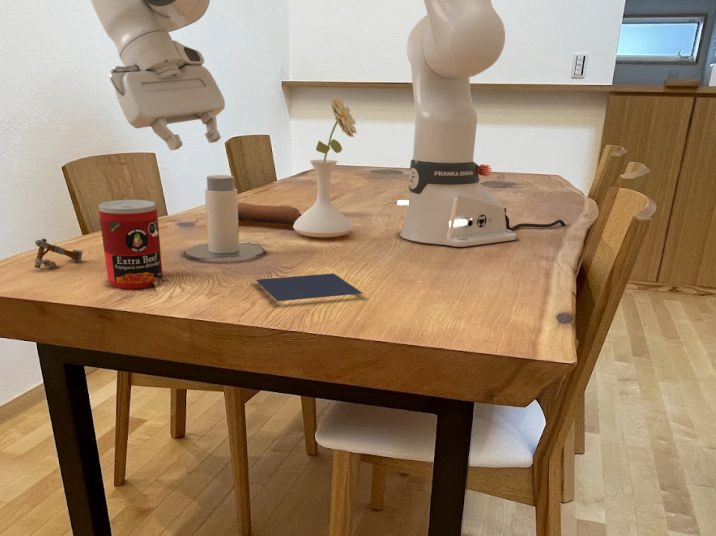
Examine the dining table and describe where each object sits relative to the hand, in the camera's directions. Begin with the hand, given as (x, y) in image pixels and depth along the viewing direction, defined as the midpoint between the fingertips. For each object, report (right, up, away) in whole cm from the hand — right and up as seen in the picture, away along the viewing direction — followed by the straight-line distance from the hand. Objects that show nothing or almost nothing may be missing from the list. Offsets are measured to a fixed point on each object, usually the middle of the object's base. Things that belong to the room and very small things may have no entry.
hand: (197, 144), depth 108 cm
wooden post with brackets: (-20, -21, -6) cm, 30 cm away
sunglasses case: (+8, -6, +29) cm, 31 cm away
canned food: (-6, -25, -13) cm, 29 cm away
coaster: (+4, -17, +4) cm, 18 cm away
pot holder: (+19, -27, -16) cm, 36 cm away
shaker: (+4, -17, +4) cm, 18 cm away
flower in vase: (+21, -11, +20) cm, 31 cm away
